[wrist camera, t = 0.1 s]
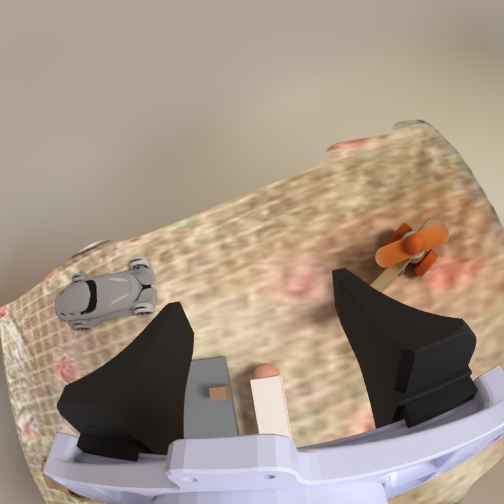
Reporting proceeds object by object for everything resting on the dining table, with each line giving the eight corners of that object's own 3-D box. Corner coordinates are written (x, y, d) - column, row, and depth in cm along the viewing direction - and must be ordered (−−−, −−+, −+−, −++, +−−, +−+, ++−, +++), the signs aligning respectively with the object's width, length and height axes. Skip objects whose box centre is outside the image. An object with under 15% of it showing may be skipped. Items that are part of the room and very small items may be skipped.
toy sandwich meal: (99, 507, 34) (86, 513, 29) (57, 485, 36) (44, 489, 32) (92, 461, 38) (77, 466, 34) (50, 442, 40) (36, 444, 36)
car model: (161, 315, 48) (147, 310, 43) (66, 334, 49) (50, 330, 45) (154, 257, 52) (141, 247, 47) (64, 285, 54) (49, 278, 49)
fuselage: (294, 454, 36) (294, 465, 31) (269, 458, 36) (265, 469, 31) (279, 361, 42) (276, 361, 37) (253, 365, 42) (248, 366, 37)
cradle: (249, 480, 35) (244, 490, 31) (189, 481, 36) (180, 489, 32) (227, 356, 43) (219, 356, 39) (167, 363, 44) (156, 363, 40)
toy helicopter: (434, 258, 43) (471, 223, 30) (356, 345, 40) (379, 339, 28) (403, 226, 46) (430, 183, 33) (321, 307, 43) (330, 285, 31)
